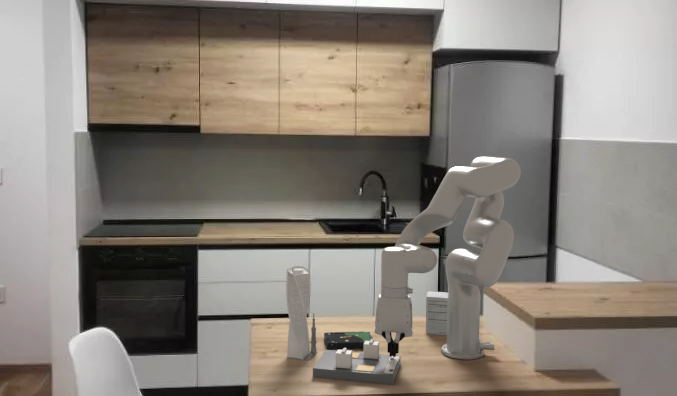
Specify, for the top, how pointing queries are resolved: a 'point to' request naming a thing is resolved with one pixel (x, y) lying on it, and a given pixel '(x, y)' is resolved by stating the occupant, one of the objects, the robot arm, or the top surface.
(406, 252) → the robot arm
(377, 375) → the switch board
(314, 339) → the skyscraper
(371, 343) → the tab
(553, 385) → the top surface
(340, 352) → the front tab
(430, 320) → the supplement box
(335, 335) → the disk drive
